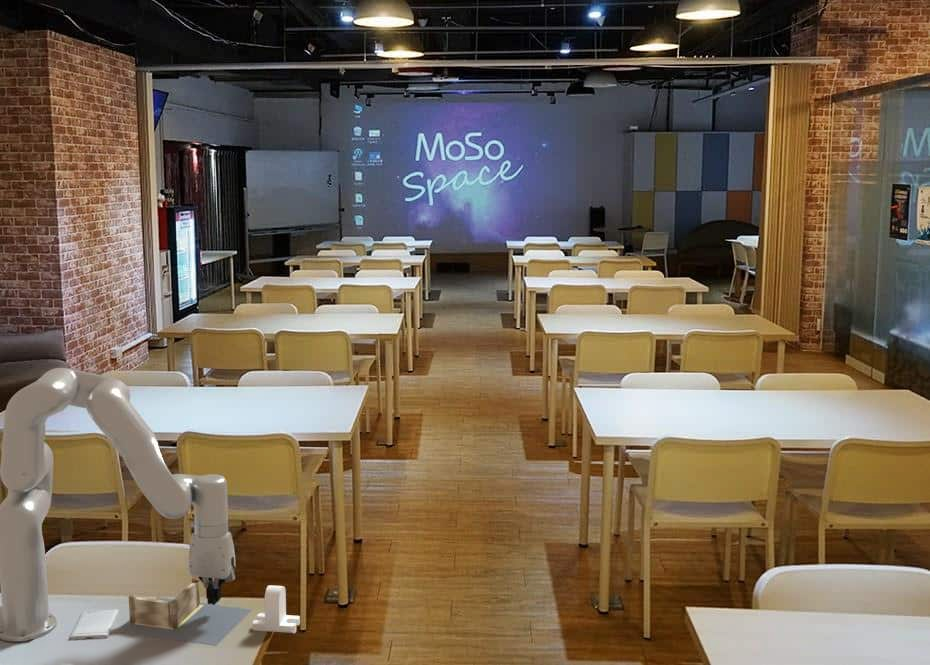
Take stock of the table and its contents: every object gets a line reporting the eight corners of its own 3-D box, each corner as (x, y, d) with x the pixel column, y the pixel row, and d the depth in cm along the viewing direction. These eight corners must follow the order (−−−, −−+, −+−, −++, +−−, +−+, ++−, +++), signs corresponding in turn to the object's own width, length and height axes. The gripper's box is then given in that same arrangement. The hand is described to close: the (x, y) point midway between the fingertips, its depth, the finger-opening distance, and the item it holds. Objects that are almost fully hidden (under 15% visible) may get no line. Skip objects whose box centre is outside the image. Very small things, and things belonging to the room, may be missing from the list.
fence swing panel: (176, 627, 220) (175, 600, 219) (169, 627, 220) (168, 600, 219) (201, 603, 232) (200, 577, 231) (194, 602, 232) (193, 576, 231)
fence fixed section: (128, 623, 222) (127, 597, 221) (132, 619, 224) (131, 593, 223) (167, 628, 220) (166, 602, 219) (171, 625, 222) (170, 599, 221)
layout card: (115, 632, 219) (115, 630, 219) (157, 598, 236) (157, 597, 236) (216, 646, 213) (216, 645, 213) (252, 610, 230) (252, 609, 230)
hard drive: (82, 610, 226) (69, 636, 214) (119, 609, 228) (107, 634, 216) (83, 617, 227) (69, 643, 215) (119, 615, 228) (108, 641, 216)
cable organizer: (259, 620, 226) (258, 580, 224) (300, 623, 225) (300, 583, 223) (252, 631, 220) (251, 590, 219) (294, 634, 219) (293, 593, 218)
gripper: (174, 530, 222) (177, 605, 225) (233, 537, 219) (235, 612, 222) (190, 519, 229) (193, 591, 233) (248, 525, 226) (250, 598, 229)
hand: (213, 601), depth 227 cm, fingers closed
